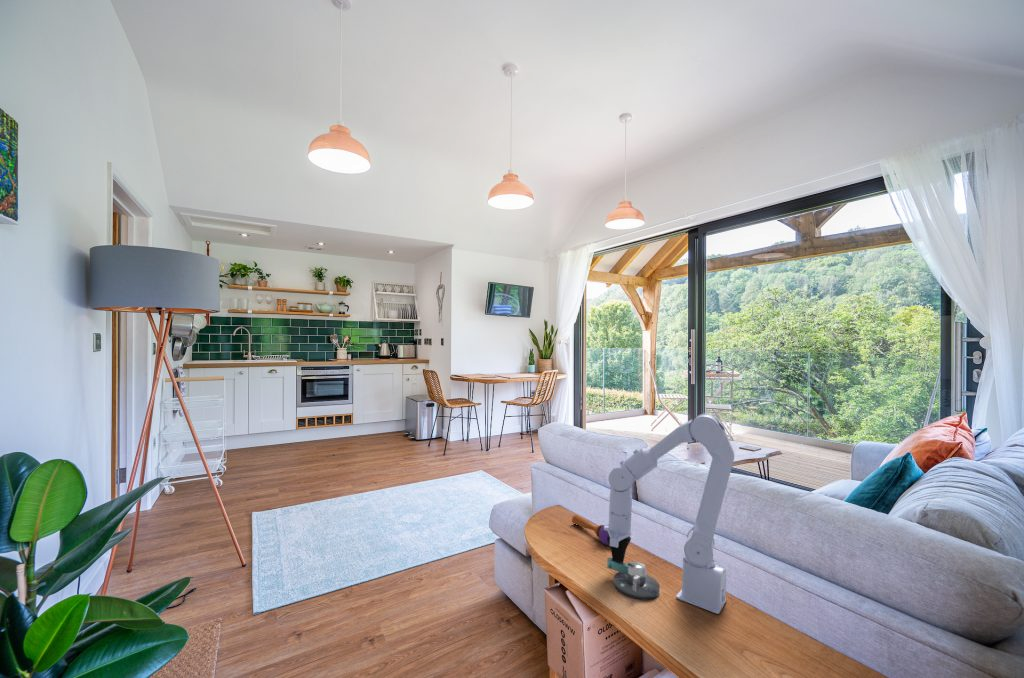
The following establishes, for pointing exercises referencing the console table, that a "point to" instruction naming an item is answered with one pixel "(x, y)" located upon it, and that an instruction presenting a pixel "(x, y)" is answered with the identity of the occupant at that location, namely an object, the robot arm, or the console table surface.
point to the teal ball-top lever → (628, 569)
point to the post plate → (636, 587)
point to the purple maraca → (592, 528)
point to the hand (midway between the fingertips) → (617, 565)
